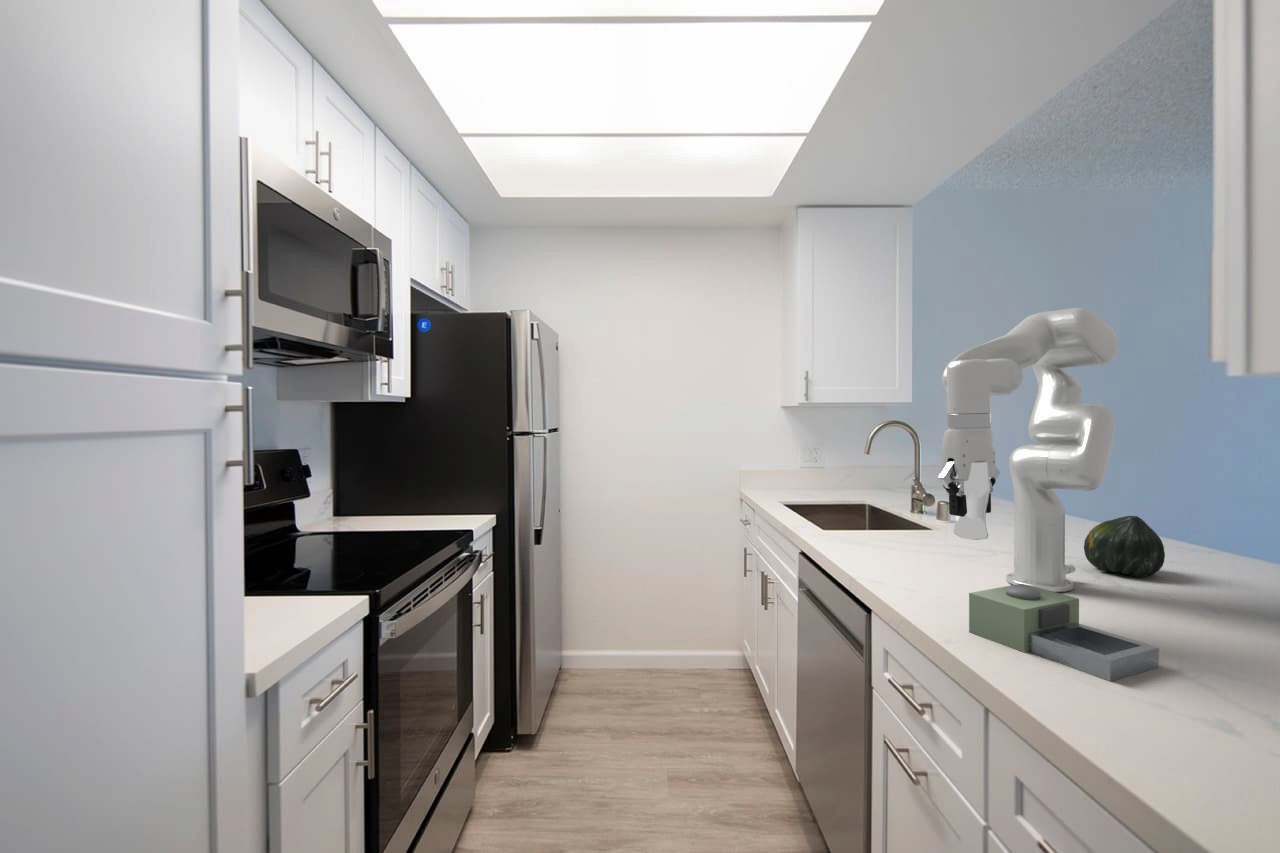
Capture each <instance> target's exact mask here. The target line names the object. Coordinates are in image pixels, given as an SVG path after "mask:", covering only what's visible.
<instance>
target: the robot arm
mask: <svg viewBox="0 0 1280 853" xmlns="http://www.w3.org/2000/svg"><path fill="white" fill-rule="evenodd" d="M1119 349H1120V344H1119V339H1118V336H1117V334H1116V332H1115V331H1114V330H1113V328H1112V327H1111V326H1110V325H1109V324H1107V323H1106V322H1105V321H1104V320H1103V319H1102V318H1101V317H1100V316H1099V315H1098V314H1096V312H1094V311H1092V310H1090V309H1087V308H1084V307H1072V308H1064V309H1057V310H1050V311H1049V310H1048V311H1041V312H1037V313H1034V314H1031V315H1029V316H1027V317H1025V318H1024V319H1023V320H1022V321H1020V322H1019V323H1018V324H1017V325H1016V326H1014V327H1013V328H1012V329H1011V330H1010V331H1008V332H1007V333H1006V334H1005V335H1002V336H1000V337H997V338H994V339H992V340H989V341H987V342H985V343H982V344H979V345H977V346H974V347H971V348H969V349H967V350H965V351H963V352H962V353H960V354H959V355H957V356H956V357H954V359H952V360H951V361H950V362H948V364H947V365H946V367H945V369H944V370H943V373H942V376H941V384H942V387H943V390H944V391H945V392H946V409H947V410H946V413H947V414H946V418H947V419H946V424H947V427H946V428H947V429H946V430H945V431H944V434H943V439H942V446H941V457H940V458H941V459H940V473H939V475H938V477H937V479H938V481H939V482H940V483H941V485H942V486H943V488H944V489H945V493H946V495H948V512H949V514H950V516H954V517H955V516H961V517H964V516H965V515H966V505H965V496H962V495H963V492H964V482H966V481H968V479H969V475H970V470H971V464H972V463H975V462H986V461H988V466H989V475H990V492H989V499H988V505H987V510H986V514H990V513H992V492H994V488H993V487H994V485H995V484H996V482H997V479H998V477H999V476H1000V474H1001V471H1000V469H999V468H998V467H997V466H996V452H995V451H996V450H995V443H994V437H993V432H992V410H991V409H992V406H991V405H992V404H991V402H992V400H991V398H992V397H1003V396H1008V395H1011V394H1013V393H1015V392H1017V391H1018V390H1019V389H1020V387H1021V385H1022V383H1023V380H1024V379H1023V378H1024V376H1023V370H1026V369H1029V368H1031V367H1032V370H1033V373H1034V376H1035V380H1036V381H1037V386H1038V391H1037V395H1036V399H1035V402H1034V405H1033V408H1032V412H1031V415H1030V419H1029V422H1028V428H1027V429H1028V431H1027V432H1028V436H1029V439H1030V440H1031V441H1032V442H1034V443H1035V444H1026V445H1025V444H1024V445H1021V446H1019V447H1017V448H1015V449H1014V450H1013V451H1012V452H1011V454H1010V455H1009V456H1010V457H1009V459H1008V468H1009V472H1010V477H1011V482H1012V490H1013V510H1014V512H1013V542H1014V543H1013V545H1014V546H1013V553H1014V554H1013V561H1014V562H1013V566H1014V567H1013V568H1014V569H1013V572H1010V573H1007V574H1006V575H1005V576H1006V577H1005V578H1006V579H1005V580H1006V581H1007V583H1009V584H1010V585H1017V584H1026V585H1029V586H1033V587H1037V588H1041V589H1045V590H1049V591H1052V592H1056V593H1061V592H1065V593H1066V592H1069V591H1072V590H1073V589H1074V583H1073V582H1072V581H1071V580H1069V579H1067V575H1068V574H1073V573H1075V572H1076V567H1075V566H1074V565H1073V564H1065V562H1066V557H1065V555H1066V554H1065V552H1066V549H1065V548H1066V547H1065V545H1066V544H1065V543H1066V539H1065V538H1066V537H1065V535H1066V530H1065V529H1066V528H1065V527H1066V523H1065V522H1066V515H1065V514H1066V510H1065V506H1064V504H1063V502H1062V500H1061V499H1060V497H1059V496H1058V494H1057V493H1056V492H1055V491H1054V489H1055V490H1056V489H1057V490H1070V491H1085V492H1087V491H1088V492H1089V491H1090V492H1091V491H1094V490H1097V489H1098V488H1099V487H1100V486H1101V485H1102V483H1103V481H1104V478H1105V475H1106V471H1107V467H1108V464H1109V460H1110V456H1111V452H1112V447H1113V444H1114V439H1115V436H1116V435H1115V434H1116V420H1115V416H1114V414H1113V412H1112V410H1111V409H1110V408H1108V407H1107V406H1106V405H1104V404H1099V403H1097V404H1096V403H1081V401H1082V398H1083V388H1082V386H1081V385H1080V383H1079V382H1078V381H1077V380H1076V379H1075V378H1074V377H1073V376H1071V374H1069V373H1068V372H1067V371H1066V370H1065V368H1078V367H1079V368H1080V367H1095V366H1096V367H1097V366H1103V365H1107V364H1110V363H1112V362H1113V361H1114V360H1115V359H1116V357H1118V353H1119ZM954 470H955V471H956V474H958V479H953V472H954ZM953 482H957V483H959V484H958V488H957V487H956V485H955V484H954V483H953Z"/></svg>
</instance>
